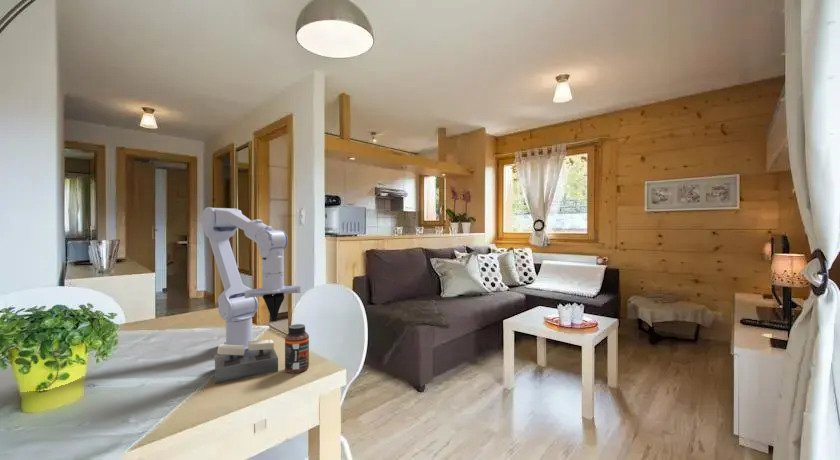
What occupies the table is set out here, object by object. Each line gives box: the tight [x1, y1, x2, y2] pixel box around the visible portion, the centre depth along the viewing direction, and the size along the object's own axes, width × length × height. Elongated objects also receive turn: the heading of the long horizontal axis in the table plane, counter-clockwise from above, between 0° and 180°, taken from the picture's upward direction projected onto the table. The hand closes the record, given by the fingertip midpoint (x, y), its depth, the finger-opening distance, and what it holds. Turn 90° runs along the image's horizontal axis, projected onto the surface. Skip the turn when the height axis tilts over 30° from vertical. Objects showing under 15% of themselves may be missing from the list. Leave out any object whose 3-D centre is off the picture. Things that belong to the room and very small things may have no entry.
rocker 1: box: [217, 343, 246, 355], centre depth 92 cm, size 3×6×2 cm, turn 120°
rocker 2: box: [247, 339, 275, 351], centre depth 95 cm, size 3×6×2 cm, turn 120°
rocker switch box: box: [214, 347, 279, 385], centre depth 92 cm, size 10×14×4 cm
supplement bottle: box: [284, 323, 310, 374], centre depth 92 cm, size 6×6×11 cm
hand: (273, 320), depth 100 cm, fingers closed
